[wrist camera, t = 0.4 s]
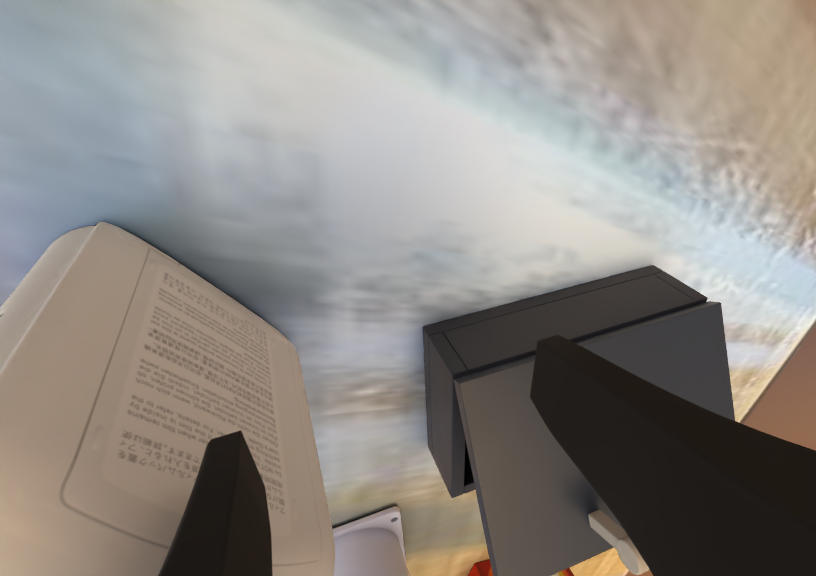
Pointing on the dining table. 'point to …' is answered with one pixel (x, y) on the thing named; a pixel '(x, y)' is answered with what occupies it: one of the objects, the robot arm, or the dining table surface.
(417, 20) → the dining table surface
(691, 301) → the flip case
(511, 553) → the cover
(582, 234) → the dining table surface
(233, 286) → the dining table surface
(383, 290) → the dining table surface
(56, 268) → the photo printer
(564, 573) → the baking soda box
